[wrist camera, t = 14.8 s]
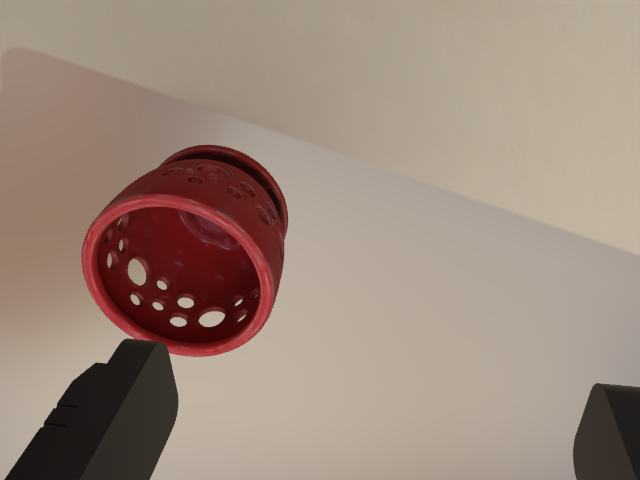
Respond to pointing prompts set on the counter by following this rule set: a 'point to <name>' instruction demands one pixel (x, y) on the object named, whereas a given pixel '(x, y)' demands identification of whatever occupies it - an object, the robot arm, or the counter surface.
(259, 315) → the plant pot
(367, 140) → the counter surface
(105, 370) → the robot arm
